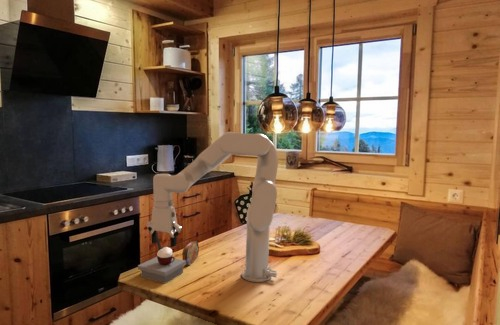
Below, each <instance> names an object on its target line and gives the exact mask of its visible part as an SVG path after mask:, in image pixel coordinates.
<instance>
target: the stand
mask: <svg viewBox="0 0 500 325" xmlns="http://www.w3.org/2000/svg"><path fill="white" fill-rule="evenodd" d="M174 258H175V260H174V261H173V258H172V261H173V262H172V261H171V262H172V263H169V264H168V265H161V264H160V263H159V262H158V259H157V256H155V257H153V258H151V259H148V260H146V261H145V262H142V263H140V264H138V265H137V270H140V271H141V272H140V273H141V278H145V279H147V280H151V281H155V282H158V283H162V284H166V283H167V282H170V281H171V280H173V279H175V278H176V277H178V276H179V275H181V274H183V273H184V267H185V266H187V265H186V261H185V260H183V259H181V258H176V257H174Z"/></svg>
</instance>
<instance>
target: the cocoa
mask: <svg viewBox="0 0 500 325" xmlns="http://www.w3.org/2000/svg"><path fill="white" fill-rule="evenodd" d="M157 233H158V232H156V233H155V234H154V235H155V238H156V241H157V242H156V245H157V248H158V251H157V254H156V255H157V256H156V257H157V259H158V262H159V263H160V264H161V265H168V264H169V263H172V262H173V261H174V260H175V258H176V257H174V254H173V249H172V247H168V246H164V247H163V248H162V246H161V242H160V239H159V234H158V235H157ZM172 258H173V261H172ZM171 261H172V262H171Z"/></svg>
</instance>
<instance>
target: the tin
mask: <svg viewBox="0 0 500 325" xmlns="http://www.w3.org/2000/svg"><path fill="white" fill-rule="evenodd" d="M199 249H200V248H199V243H198V241H190V242H189V243H188V244H186V245H185V246H184V247H183V249H182V254H181V256H182V260H185V261H186V265H185V266H191V265H192V264H193V263H194V262H195V261H196V260H197V259H198V256H199V251H200V250H199Z"/></svg>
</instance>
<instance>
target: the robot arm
mask: <svg viewBox="0 0 500 325" xmlns="http://www.w3.org/2000/svg"><path fill="white" fill-rule="evenodd" d="M233 155H234V156H249V157H252V156H253V157H256V159H257V161H256V162H257V163H256V169H255V176H254V180H253V184H252V188H251V192H252V193H251V194H252V195H251V199H250V200H251V201H250V204H249V206H248V208H247V211H246V236H245V237H246V239H245V240H246V241H245V242H246V243H245V267H244V268H245V269H244V270H243V271H241V277H242V278H243V279H244V280H245V281H249V282H253V283H264V282H267V281H269V280H270V279H272V278H277V276H278V273H277V270H274V269H271V265H269V255H270V253H269V252H270V248H269V247H270V227H271V224H272V222H273V219H274V212H275V208H276V204H277V198H278V197H277V196H278V190H277V186H276V180H277V173H278V166H279V155H278V150H277V148H276V146H275V144H274V143H273V142H272V141H271V140H270V139H269V137H267V135H265V134H263V133H259V132H258V133H243V132H233V131H227V132H225V133H223V134H222V135H221V136H220V137H218V138H217V139H216V140H215V141H214V142H213V143H212V144H210V145H209V146H207V148H205V149H204V150H202V152H200V153H199V154H198V156H197V157H195V159H194V160H193V161H192V162H191V163H190V164H188V165H187V166H185V167H184V169H182V170H181V171H180V172H178V173H177V174H174V175H171V174H170V173H158V174H155V175H154V176H153V179H152V182H153V183H152V185H153V186H152V187H153V207H152V212H151V220H149V221H147V222H146V224H145V225H146V227H147V228H148V231H149V234H150V235H151V244H152V245H154V244H157V241H156V238H155V235H154V234H155V233H157V235H158V236H159V233H158V232H161V233H168V234H169V236H170V242H169V243H170V248H174V247H176V246H177V243H178V238H177V237H178V236H179V234H181V232H182V228H183V227H182V226H181V225H179V224H178V220H177V213H176V209H175V207H174V206H175V202H173V193H175V194H183V193H186V192H187V191H188V190H189V189H190V188H191V187H192V185H194V184H195V183H196V182H197V181H199V180H200V179H201V178H203V177H204V176H205V175H206V174H207V173H210V172H212V171H214V170H215V169H216V168H218V167H219V166H220V165H221V164H222V163H224V162H225V161H226V160H228V158H230V157H231V156H233Z"/></svg>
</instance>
